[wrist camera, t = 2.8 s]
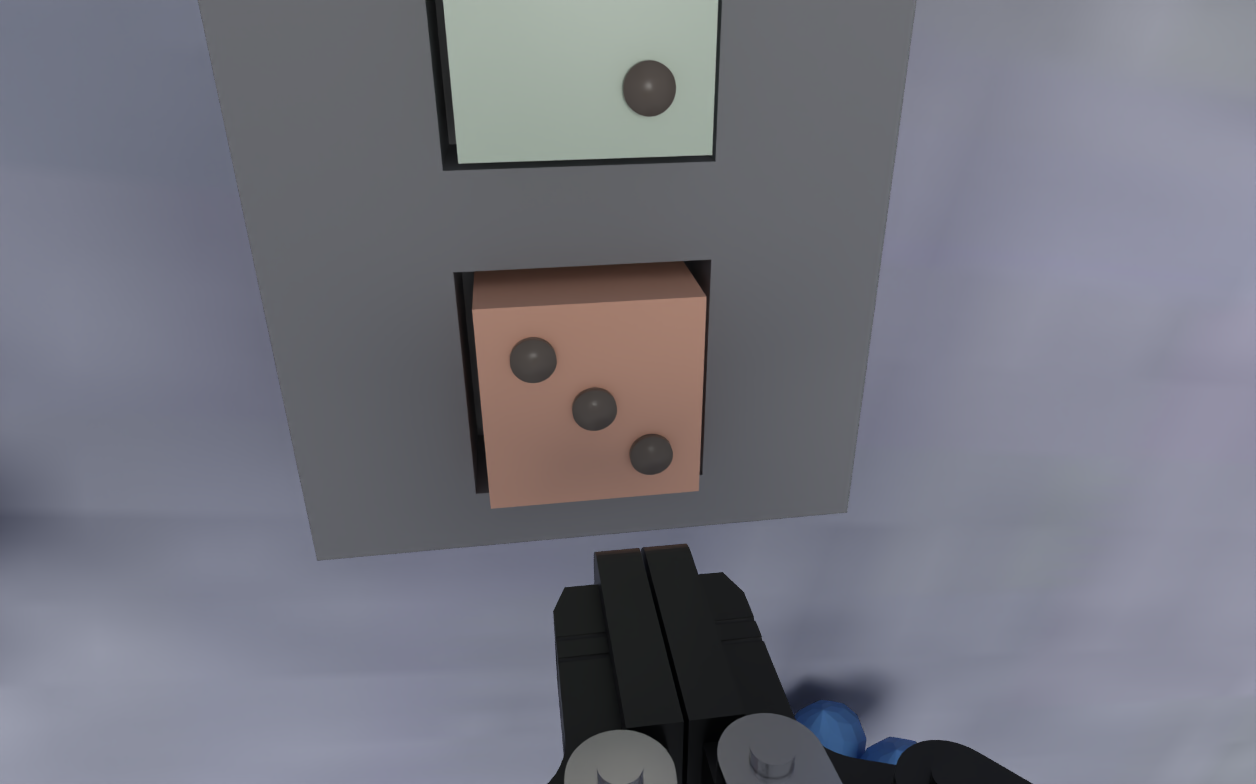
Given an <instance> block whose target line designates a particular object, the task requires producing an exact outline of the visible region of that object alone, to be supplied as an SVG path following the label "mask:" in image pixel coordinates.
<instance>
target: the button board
mask: <svg viewBox="0 0 1256 784" xmlns="http://www.w3.org/2000/svg"><path fill="white" fill-rule="evenodd" d="M198 3H199V8H200V13H201V17H202V22H203V27H204V31H205V36H206V41H207V45H208V50H209V55H210V59H211V64H212V69H213V74H214V78H215V83H216V88H217V92H218V97H219V102H220V106H221V111H222V116H223V120H224V125H225V130H226V135H227V139H228V144H229V149H230V153H231V158H232V163H233V167H234V172H235V177H236V181H237V186H238V191H239V196H240V200H241V205H242V210H243V214H244V219H245V224H246V228H247V233H248V238H249V242H250V247H251V252H252V257H253V261H254V266H255V271H256V275H257V280H258V285H259V289H260V294H261V299H262V303H263V308H264V313H265V318H266V322H267V327H268V332H269V336H270V341H271V346H272V350H273V355H274V360H275V364H276V369H277V374H278V379H279V383H280V388H281V393H282V397H283V402H284V407H285V411H286V416H287V421H288V425H289V430H290V435H291V440H292V444H293V449H294V454H295V458H296V463H297V468H298V472H299V477H300V482H301V486H302V491H303V496H304V501H305V505H306V510H307V515H308V519H309V524H310V529H311V533H312V538H313V543H314V547H315V552H316V557H317V561H319V560H330V559H341V558H352V557H363V556H374V555H385V554H396V553H407V552H418V551H429V550H440V549H451V548H462V547H473V546H484V545H495V544H506V543H517V542H528V541H539V540H550V539H561V538H572V537H583V536H594V535H605V534H616V533H627V532H638V531H649V530H660V529H671V528H682V527H693V526H704V525H715V524H726V523H737V522H748V521H759V520H770V519H781V518H792V517H803V516H814V515H825V514H836V513H847V508H848V501H849V493H850V486H851V479H852V471H853V464H854V456H855V449H856V442H857V434H858V427H859V420H860V412H861V405H862V397H863V390H864V383H865V375H866V368H867V361H868V353H869V346H870V339H871V331H872V324H873V316H874V309H875V302H876V294H877V287H878V280H879V272H880V265H881V258H882V250H883V243H884V235H885V228H886V221H887V213H888V206H889V199H890V191H891V184H892V176H893V169H894V162H895V154H896V147H897V140H898V132H899V125H900V118H901V110H902V103H903V95H904V88H905V81H906V73H907V66H908V59H909V51H910V44H911V37H912V29H913V22H914V14H915V7H916V0H718V19H717V44H716V69H715V95H714V120H713V145H712V155H696V156H667V157H638V158H608V159H579V160H549V161H520V162H491V163H461V164H458V155H457V144H456V134H455V123H454V112H453V102H452V91H451V80H450V70H449V59H448V49H447V38H446V27H445V17H444V6H443V0H198ZM675 261H683V262H684V263H685V265H686V266H687V268H688V269H689V271H690V272H691V274H692V275H693V277H694V278H695V280H696V281H697V283H698V284H699V286H700V287H701V289H702V290H703V292H704V294H705V295H706V322H705V348H704V373H703V398H702V424H701V449H700V474H699V491H693V492H681V493H670V494H658V495H646V496H635V497H623V498H611V499H599V500H588V501H576V502H564V503H553V504H541V505H529V506H517V507H506V508H494V509H491V505H490V495H489V484H488V474H487V463H486V452H485V442H484V431H483V420H482V410H481V399H480V389H479V378H478V367H477V357H476V346H475V335H474V325H473V314H472V302H473V285H474V272H475V271H495V270H515V269H535V268H555V267H575V266H595V265H615V264H635V263H655V262H675Z"/></svg>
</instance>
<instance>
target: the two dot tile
mask: <svg viewBox="0 0 1256 784" xmlns="http://www.w3.org/2000/svg"><path fill="white" fill-rule="evenodd" d="M443 6H444V17H445V27H446V38H447V49H448V59H449V70H450V80H451V91H452V102H453V112H454V123H455V134H456V144H457V155H458V164H461V163H491V162H520V161H549V160H579V159H608V158H638V157H667V156H696V155H712V145H713V120H714V95H715V69H716V44H717V19H718V0H443Z"/></svg>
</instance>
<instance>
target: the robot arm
mask: <svg viewBox="0 0 1256 784" xmlns="http://www.w3.org/2000/svg"><path fill="white" fill-rule="evenodd" d="M553 614H554V631H555V649H556V666H557V684H558V695H559V707H560V718H561V729H562V741H563V752H564V758H563V760H562V763H561V766H560V767H559V769H558V771H557V773H556V774H555V776H554V777H553V778H552V779H551V781H550V782H549V783H548V784H1032V783H1030V782H1029V781H1027V780H1025V779H1023V778H1022V777H1020V776H1018V775H1017V774H1015V773H1013V772H1011V771H1010V770H1008V769H1006V768H1005V767H1003V766H1001V765H999V764H998V763H996V762H994V761H993V760H991V759H989V758H987V757H986V756H984V755H982V754H980V753H979V752H977V751H975V750H973V749H971V748H969V747H966V746H964V745H961V744H958V743H954V742H950V741H943V740H928V741H922V742H919V743H916V744H913V745H912V746H910V747H909V748H907V749H906V750H905V751H904V752H903V753H902V754H901V755H900V757H899V759H898V761H897V764H896V765H894V764H888V763H882V762H876V761H870V760H864V759H858V758H853V757H848V756H845V755H842V754H839V753H836V752H834V751H832V750H830V749H828V748H826V747H824V746H823V745H822V744H821V742H820V741H819V739H818V738H817V737H816V736H815V735H814V733H813V732H812V731H810V730H809V729H808V728H807V727H806V726H804V725H802V724H801V723H799V722H798V721H796V719H795V717H794V715H793V712H792V710H791V707H790V705H789V703H788V700H787V698H786V695H785V693H784V690H783V688H782V685H781V683H780V680H779V678H778V675H777V673H776V670H775V668H774V665H773V663H772V661H771V658H770V656H769V653H768V651H767V648H766V646H765V643H764V641H762V636H761V633H760V631H759V628H758V626H757V624H756V621H754V616H753V614H752V611H751V609H750V606H749V604H748V601H747V599H746V596H745V594H744V592H743V591H742V590H741V589H740V588H739V587H738V586H737V585H736V584H735V583H733V582H732V581H731V580H730V579H729V578H728V577H727V576H726V575H725V574H724V573H723V572H720V573H710V574H699V575H698V572H697V569H696V566H695V563H694V560H693V558H692V555H691V552H690V549H689V547H688V545H687V544H676V545H665V546H654V547H643V548H642V549H641V551H640V549H639V548H634V549H623V550H612V551H601V552H594V585H586V586H575V587H565V588H564V590H563V592H562V594H561V596H560V598H559V600H558V602H557V605H556V607H555V609H554V611H553Z"/></svg>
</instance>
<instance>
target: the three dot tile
mask: <svg viewBox="0 0 1256 784" xmlns="http://www.w3.org/2000/svg"><path fill="white" fill-rule="evenodd" d="M472 314H473V325H474V335H475V346H476V357H477V367H478V378H479V389H480V399H481V410H482V420H483V431H484V442H485V452H486V463H487V474H488V484H489V495H490V505H491V509H494V508H506V507H517V506H529V505H541V504H553V503H564V502H576V501H588V500H599V499H611V498H623V497H635V496H646V495H658V494H670V493H681V492H693V491H699V474H700V449H701V424H702V398H703V373H704V348H705V322H706V295H705V294H704V292H703V290H702V289H701V287H700V286H699V284H698V283H697V281H696V280H695V278H694V277H693V275H692V274H691V272H690V271H689V269H688V268H687V266H686V265H685V263H684V262H683V261H675V262H655V263H635V264H615V265H595V266H575V267H555V268H535V269H515V270H495V271H475V272H474V285H473V302H472Z"/></svg>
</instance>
